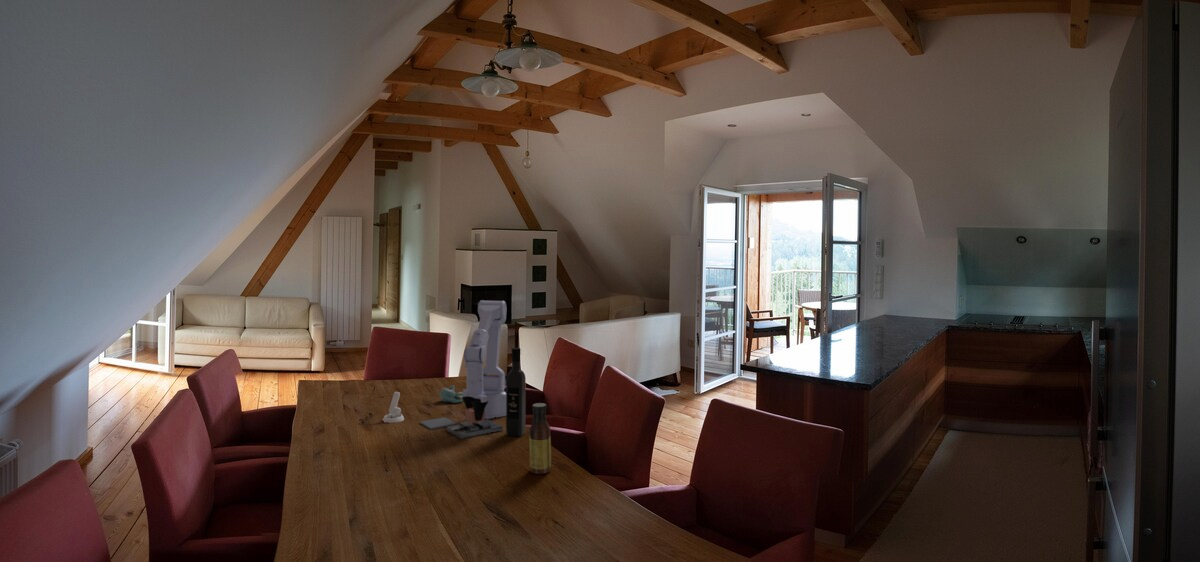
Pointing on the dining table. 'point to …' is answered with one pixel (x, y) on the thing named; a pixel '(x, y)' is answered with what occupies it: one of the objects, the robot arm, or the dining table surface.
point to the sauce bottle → (539, 441)
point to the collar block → (472, 415)
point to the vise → (474, 428)
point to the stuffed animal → (451, 395)
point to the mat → (438, 423)
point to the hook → (394, 410)
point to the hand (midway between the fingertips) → (474, 418)
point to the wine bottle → (515, 397)
